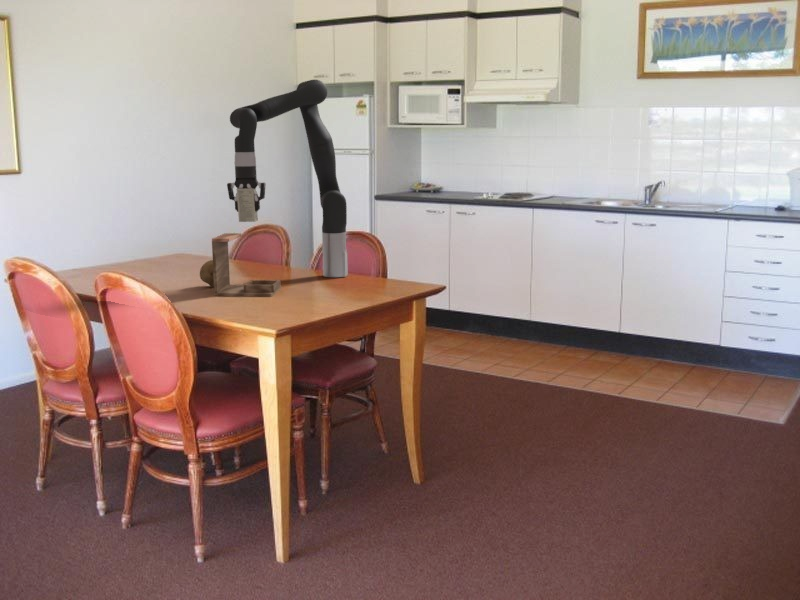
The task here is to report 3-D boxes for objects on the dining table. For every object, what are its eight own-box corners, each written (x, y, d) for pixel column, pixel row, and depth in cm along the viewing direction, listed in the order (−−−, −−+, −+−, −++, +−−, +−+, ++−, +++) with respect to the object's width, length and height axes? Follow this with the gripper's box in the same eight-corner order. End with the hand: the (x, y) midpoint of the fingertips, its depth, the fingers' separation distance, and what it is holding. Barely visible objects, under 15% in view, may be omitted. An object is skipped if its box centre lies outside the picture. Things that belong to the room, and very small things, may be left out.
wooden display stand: (282, 288, 320) (280, 233, 317) (272, 296, 305) (270, 238, 301) (227, 288, 322) (224, 233, 318) (214, 296, 306) (211, 238, 303)
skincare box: (258, 220, 325) (256, 187, 322) (254, 222, 320) (253, 188, 318) (241, 220, 325) (239, 187, 323) (237, 222, 321) (236, 188, 319)
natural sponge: (213, 290, 319) (211, 262, 317) (195, 288, 323) (193, 261, 321) (230, 286, 326) (229, 259, 324) (212, 284, 331) (211, 257, 329)
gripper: (267, 164, 322) (269, 210, 325) (228, 164, 323) (231, 210, 327) (262, 165, 315) (264, 212, 318) (223, 165, 316) (225, 212, 319)
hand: (247, 211), depth 322 cm, fingers closed on skincare box, 6 cm apart
